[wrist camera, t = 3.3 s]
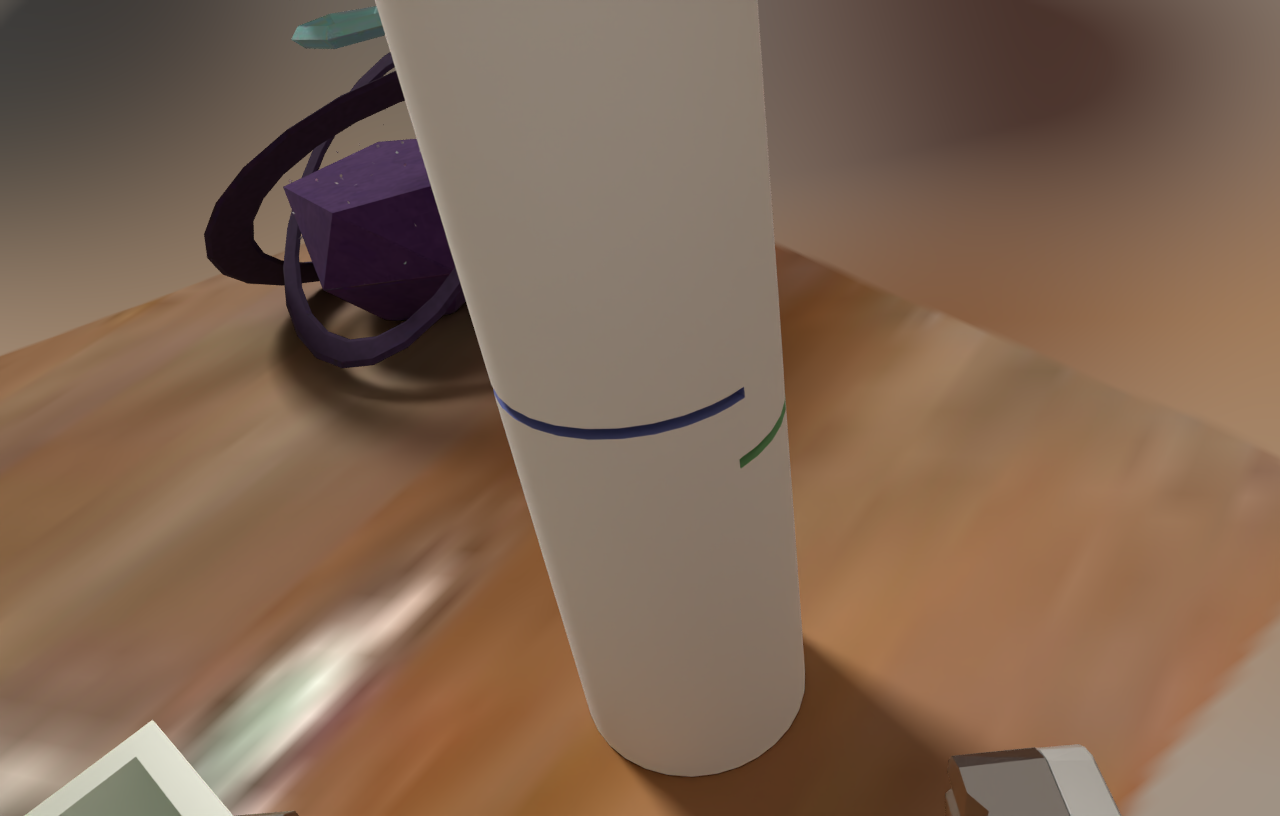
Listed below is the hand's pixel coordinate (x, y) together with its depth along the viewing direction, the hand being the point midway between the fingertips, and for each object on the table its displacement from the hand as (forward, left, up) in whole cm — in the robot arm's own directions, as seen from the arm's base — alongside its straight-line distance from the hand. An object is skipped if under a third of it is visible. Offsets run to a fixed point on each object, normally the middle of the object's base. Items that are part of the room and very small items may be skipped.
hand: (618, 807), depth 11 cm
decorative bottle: (-40, +23, -13) cm, 48 cm away
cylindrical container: (-8, +9, -13) cm, 18 cm away
